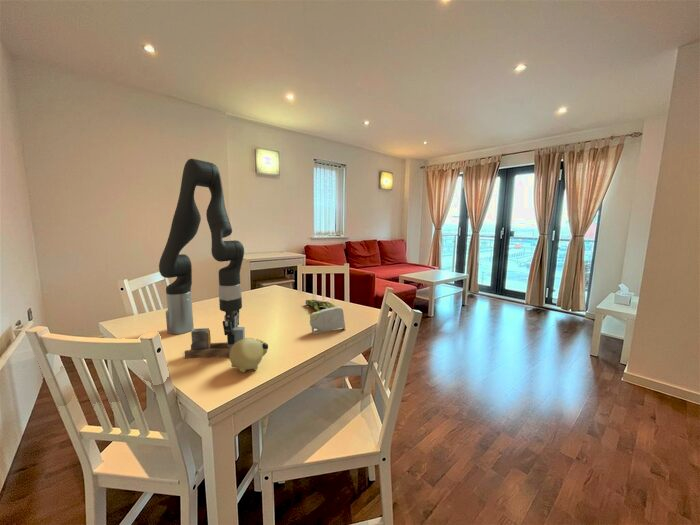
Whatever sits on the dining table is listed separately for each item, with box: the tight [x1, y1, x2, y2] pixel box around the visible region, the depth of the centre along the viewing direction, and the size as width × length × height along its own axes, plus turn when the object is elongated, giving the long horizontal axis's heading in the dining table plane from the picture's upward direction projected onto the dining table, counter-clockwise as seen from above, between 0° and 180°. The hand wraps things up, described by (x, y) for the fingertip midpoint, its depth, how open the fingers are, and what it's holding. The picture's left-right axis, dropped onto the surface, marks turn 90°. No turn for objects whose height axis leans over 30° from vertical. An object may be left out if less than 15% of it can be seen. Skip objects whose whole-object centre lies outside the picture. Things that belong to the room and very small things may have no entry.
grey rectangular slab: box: [309, 305, 346, 335], centre depth 129 cm, size 11×3×15 cm
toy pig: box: [229, 337, 269, 373], centre depth 96 cm, size 10×12×11 cm
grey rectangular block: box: [228, 326, 246, 348], centre depth 108 cm, size 5×3×8 cm, turn 98°
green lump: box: [305, 299, 336, 312], centre depth 159 cm, size 12×7×25 cm
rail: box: [184, 327, 231, 360], centre depth 107 cm, size 20×7×9 cm, turn 98°
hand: (232, 341), depth 108 cm, fingers open, 4 cm apart
